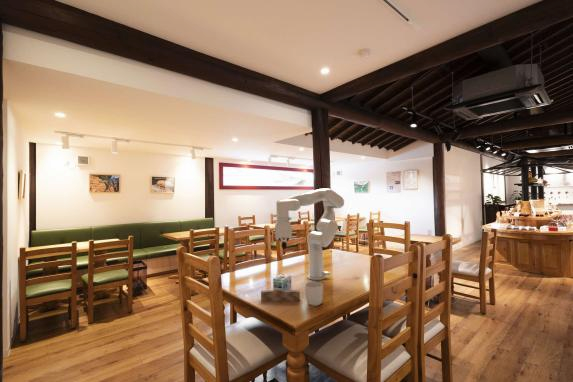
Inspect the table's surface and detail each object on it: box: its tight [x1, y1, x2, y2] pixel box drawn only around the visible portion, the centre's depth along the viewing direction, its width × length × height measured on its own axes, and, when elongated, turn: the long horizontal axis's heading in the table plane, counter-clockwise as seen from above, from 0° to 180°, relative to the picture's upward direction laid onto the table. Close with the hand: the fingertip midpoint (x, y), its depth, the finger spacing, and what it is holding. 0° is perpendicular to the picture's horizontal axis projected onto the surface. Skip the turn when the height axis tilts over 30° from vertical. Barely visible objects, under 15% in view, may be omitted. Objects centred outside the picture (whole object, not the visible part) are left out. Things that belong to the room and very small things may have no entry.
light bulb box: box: [272, 273, 293, 290], centre depth 153 cm, size 11×7×11 cm, turn 152°
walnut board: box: [260, 289, 301, 302], centre depth 146 cm, size 21×2×5 cm, turn 86°
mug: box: [305, 281, 324, 307], centre depth 143 cm, size 13×9×10 cm
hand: (284, 248), depth 169 cm, fingers closed
